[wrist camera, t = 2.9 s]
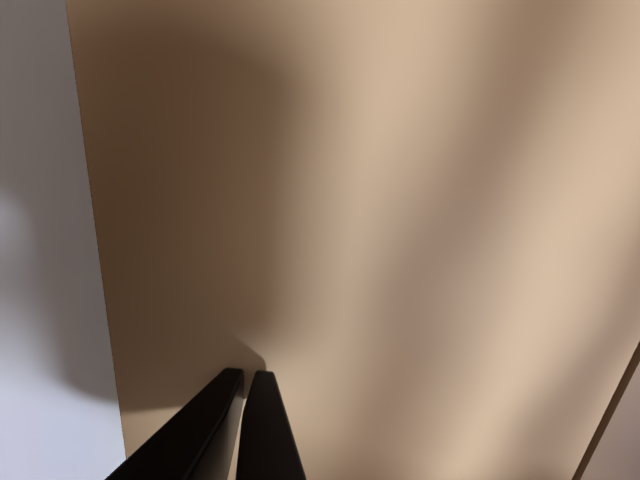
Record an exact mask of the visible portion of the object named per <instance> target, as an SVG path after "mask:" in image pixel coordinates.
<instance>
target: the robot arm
mask: <svg viewBox="0 0 640 480" xmlns="http://www.w3.org/2000/svg"><path fill="white" fill-rule="evenodd" d="M243 400H244V370H243V369H241V368H229V367H228V368H225V369H223V370H222V371H221V372H220V373H219V374H218V375H217V376H216V377H215V378H214V379H212V380H211V381H210V382H209V383H208V384H207V385H206V386H205V387H204V388H203V389H202V390H201V391H200V392H198V393H197V394H196V395H195V396H194V397H193V398H192V399H191V400H190V401H189V402H188V403H187V404H186V405H184V406H183V407H182V408H181V409H180V410H179V411H178V412H177V413H176V414H175V415H174V416H173V417H172V418H170V419H169V420H168V421H167V422H166V423H165V424H164V425H163V426H162V427H161V428H160V429H159V430H158V431H156V432H155V433H154V434H153V435H152V436H151V437H150V438H149V439H148V440H147V441H146V442H145V443H144V444H142V445H141V446H140V447H139V448H138V449H137V450H136V451H135V452H134V453H133V454H132V455H131V456H130V457H128V458H127V459H126V460H125V461H124V462H123V463H122V464H121V465H120V466H119V467H118V468H117V469H116V470H114V471H113V472H112V473H111V474H110V475H109V476H108V477H107V478H106V479H105V480H227V479H228V475H229V470H230V466H231V461H232V456H233V452H234V447H235V442H236V437H237V432H238V427H239V422H240V417H241V412H242V407H243ZM235 480H307V479H306V475H305V472H304V469H303V465H302V462H301V459H300V456H299V452H298V449H297V446H296V442H295V439H294V436H293V433H292V429H291V426H290V423H289V419H288V416H287V413H286V409H285V406H284V403H283V400H282V396H281V393H280V390H279V386H278V383H277V380H276V376H275V374H274V372H273V371H264V370H257V371H256V372H255V374H254V377H253V381H252V384H251V387H250V390H249V393H248V397H247V400H246V403H245V406H244V410H243V414H242V421H241V430H240V440H239V449H238V459H237V468H236V478H235Z"/></svg>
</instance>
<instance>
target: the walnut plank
mask: <svg viewBox="0 0 640 480" xmlns="http://www.w3.org/2000/svg"><path fill="white" fill-rule="evenodd" d="M572 480H640V341H639V343H638V345H637V347H636V349H635V351H634V353H633V355H632V357H631V359H630V361H629V364H628V366H627V368H626V370H625V372H624V374H623V376H622V378H621V380H620V382H619V384H618V386H617V388H616V390H615V392H614V394H613V396H612V398H611V400H610V402H609V404H608V406H607V408H606V410H605V412H604V414H603V416H602V419H601V421H600V423H599V425H598V427H597V429H596V431H595V433H594V435H593V437H592V439H591V441H590V443H589V445H588V447H587V449H586V451H585V453H584V455H583V457H582V459H581V461H580V463H579V465H578V467H577V469H576V471H575V474H574V476H573V478H572Z"/></svg>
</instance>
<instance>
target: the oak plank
mask: <svg viewBox="0 0 640 480" xmlns="http://www.w3.org/2000/svg"><path fill="white" fill-rule="evenodd" d="M65 1H66V9H67V16H68V24H69V32H70V39H71V47H72V54H73V62H74V69H75V77H76V84H77V92H78V99H79V107H80V114H81V122H82V130H83V137H84V145H85V152H86V160H87V167H88V175H89V182H90V190H91V197H92V205H93V213H94V220H95V228H96V235H97V243H98V250H99V258H100V265H101V273H102V280H103V288H104V295H105V303H106V311H107V318H108V326H109V333H110V341H111V348H112V356H113V363H114V371H115V378H116V386H117V393H118V401H119V409H120V416H121V424H122V431H123V439H124V446H125V454H126V459H127V458H128V457H130V456H131V455H132V454H133V453H134V452H135V451H136V450H137V449H138V448H139V447H140V446H141V445H142V444H144V443H145V442H146V441H147V440H148V439H149V438H150V437H151V436H152V435H153V434H154V433H155V432H156V431H158V430H159V429H160V428H161V427H162V426H163V425H164V424H165V423H166V422H167V421H168V420H169V419H170V418H172V417H173V416H174V415H175V414H176V413H177V412H178V411H179V410H180V409H181V408H182V407H183V406H184V405H186V404H187V403H188V402H189V401H190V400H191V399H192V398H193V397H194V396H195V395H196V394H197V393H198V392H200V391H201V390H202V389H203V388H204V387H205V386H206V385H207V384H208V383H209V382H210V381H211V380H212V379H214V378H215V377H216V376H217V375H218V374H219V373H220V372H221V371H222V370H223V369H225V368H228V367H229V368H241V369H243V370H244V400H243V407H242V412H241V417H240V422H239V427H238V432H237V437H236V442H235V447H234V452H233V456H232V461H231V466H230V470H229V475H228V479H227V480H235V478H236V468H237V459H238V449H239V440H240V430H241V421H242V414H243V410H244V406H245V403H246V400H247V397H248V393H249V390H250V387H251V384H252V381H253V377H254V374H255V372H256V371H257V370H264V371H273V372H274V374H275V376H276V380H277V383H278V386H279V390H280V393H281V396H282V400H283V403H284V406H285V409H286V413H287V416H288V419H289V423H290V426H291V429H292V433H293V436H294V439H295V442H296V446H297V449H298V452H299V456H300V459H301V462H302V465H303V469H304V472H305V475H306V479H307V480H572V478H573V476H574V474H575V471H576V469H577V467H578V465H579V463H580V461H581V459H582V457H583V455H584V453H585V451H586V449H587V447H588V445H589V443H590V441H591V439H592V437H593V435H594V433H595V431H596V429H597V427H598V425H599V423H600V421H601V419H602V416H603V414H604V412H605V410H606V408H607V406H608V404H609V402H610V400H611V398H612V396H613V394H614V392H615V390H616V388H617V386H618V384H619V382H620V380H621V378H622V376H623V374H624V372H625V370H626V368H627V366H628V364H629V361H630V359H631V357H632V355H633V353H634V351H635V349H636V347H637V345H638V343H639V341H640V0H65Z"/></svg>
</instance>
